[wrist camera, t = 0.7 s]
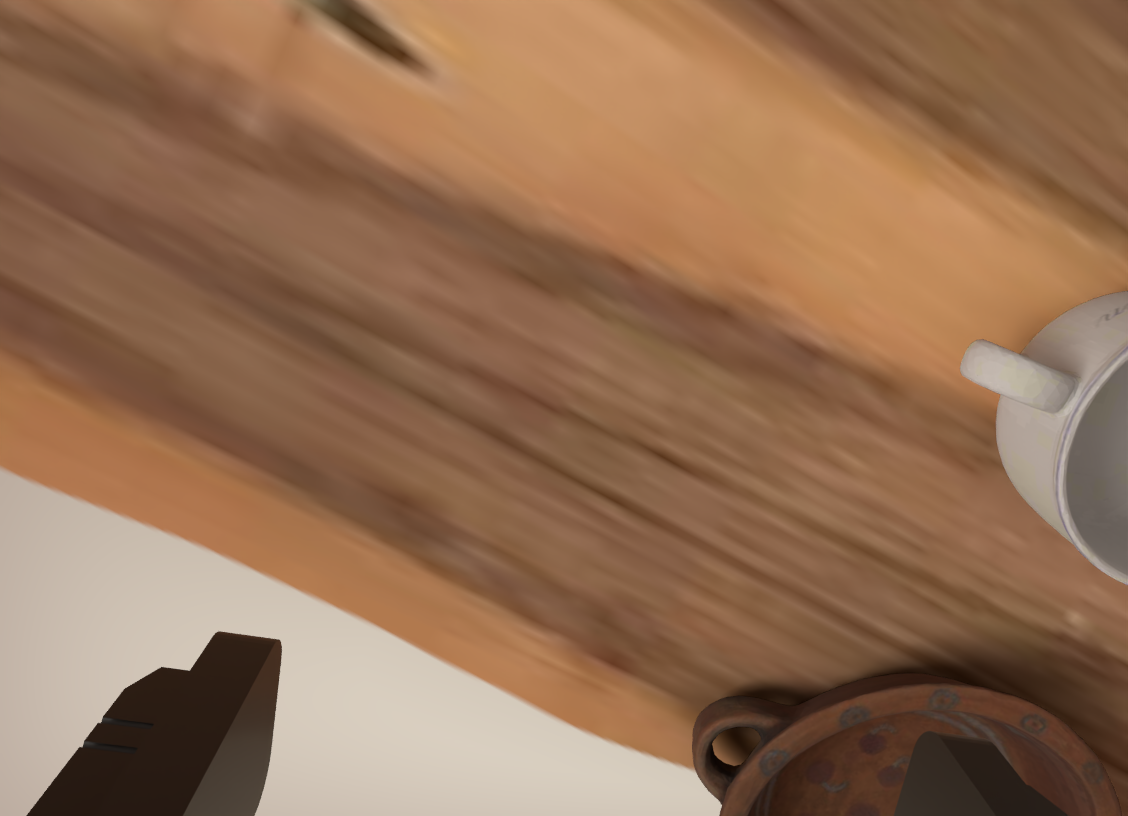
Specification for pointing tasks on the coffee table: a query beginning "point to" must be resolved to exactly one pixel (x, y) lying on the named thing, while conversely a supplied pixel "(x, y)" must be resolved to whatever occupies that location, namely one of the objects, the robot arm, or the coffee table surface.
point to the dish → (886, 748)
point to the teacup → (1068, 424)
